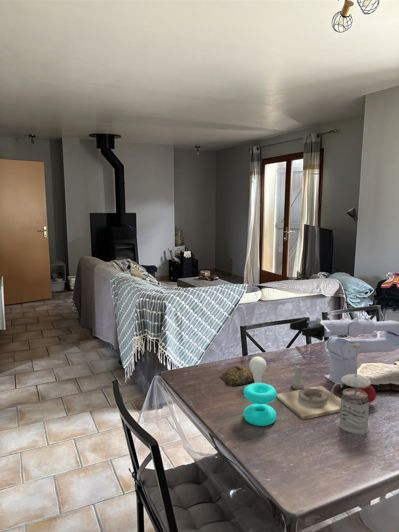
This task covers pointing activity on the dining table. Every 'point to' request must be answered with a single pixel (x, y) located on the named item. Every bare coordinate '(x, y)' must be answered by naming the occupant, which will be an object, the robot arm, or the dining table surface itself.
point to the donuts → (260, 404)
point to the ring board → (307, 409)
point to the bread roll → (237, 376)
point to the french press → (352, 418)
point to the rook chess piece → (298, 378)
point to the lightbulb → (257, 368)
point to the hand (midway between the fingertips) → (296, 329)
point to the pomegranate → (369, 393)
